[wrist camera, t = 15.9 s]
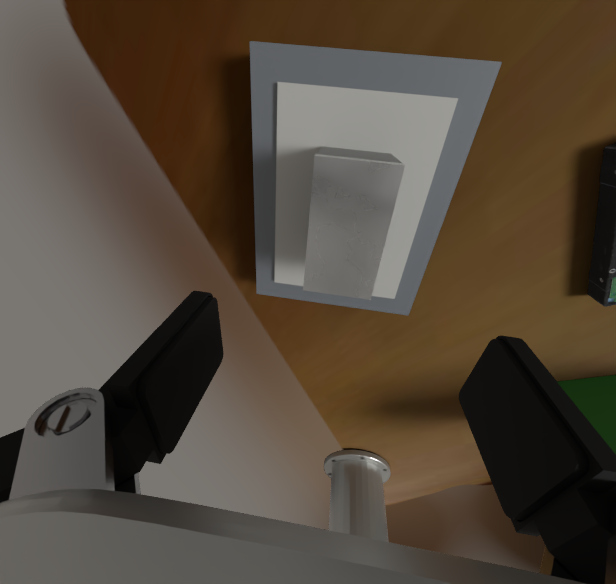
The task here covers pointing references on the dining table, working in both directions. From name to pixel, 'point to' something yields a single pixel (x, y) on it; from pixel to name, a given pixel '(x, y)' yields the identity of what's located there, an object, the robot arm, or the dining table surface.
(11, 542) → the robot arm
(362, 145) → the stand
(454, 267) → the dining table surface
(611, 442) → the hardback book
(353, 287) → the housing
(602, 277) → the disk drive
